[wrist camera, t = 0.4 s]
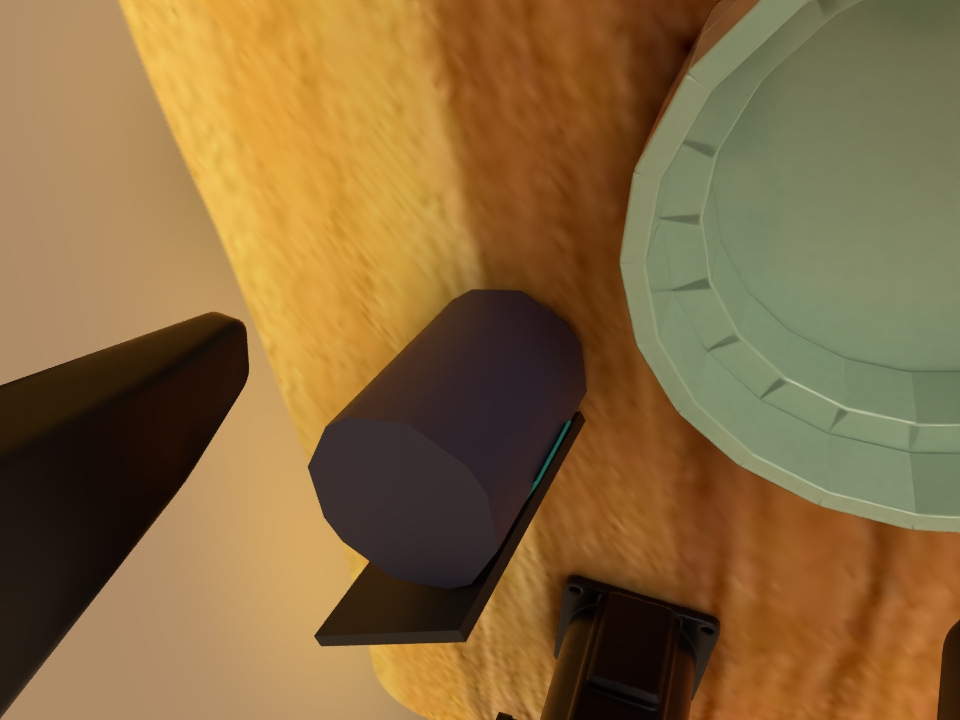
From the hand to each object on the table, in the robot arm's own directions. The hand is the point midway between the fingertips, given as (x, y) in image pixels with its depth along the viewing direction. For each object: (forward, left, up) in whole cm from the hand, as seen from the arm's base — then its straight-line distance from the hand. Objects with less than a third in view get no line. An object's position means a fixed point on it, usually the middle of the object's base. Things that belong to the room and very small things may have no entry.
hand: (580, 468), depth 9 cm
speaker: (-11, +5, -14) cm, 18 cm away
